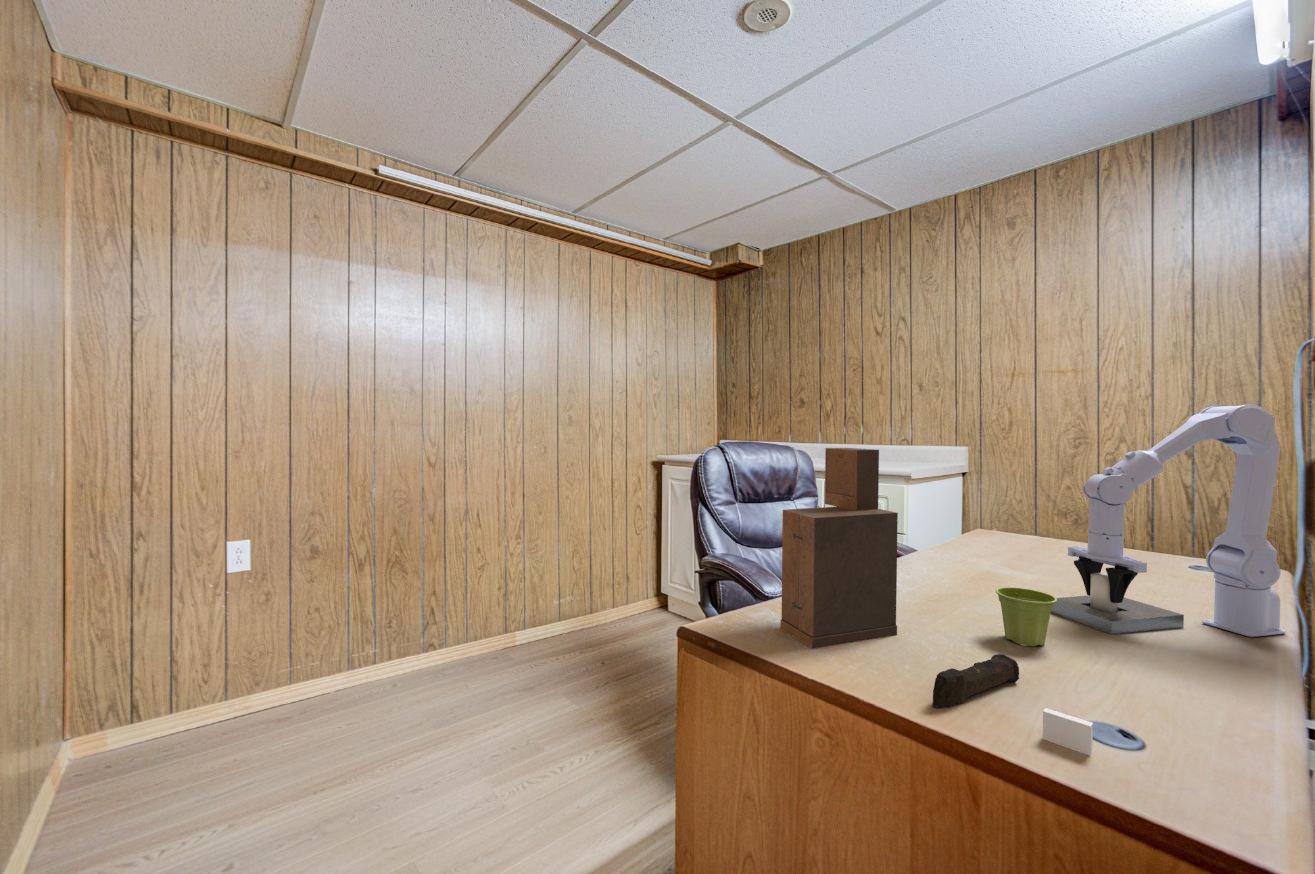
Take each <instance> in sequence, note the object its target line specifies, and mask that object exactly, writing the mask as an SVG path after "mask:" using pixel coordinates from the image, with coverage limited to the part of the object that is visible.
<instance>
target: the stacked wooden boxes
mask: <svg viewBox="0 0 1315 874" xmlns="http://www.w3.org/2000/svg"><path fill="white" fill-rule="evenodd" d="M824 449H825V451H824V452H825V455H824V456H825V457H824V459H825V460H824V461H825V463H824V464H825V465H824V469H825V472H824V474H825V475H824V504H825V505H827V506H826V507H810V508H809V507H808V508H807V507H806V508H792V509H788V508H787V509H782V525H781V526H782V532H781V533H782V537H781V538H782V541H781V544H782V545H781V551H782V553H781V619H780V622H779V623H780V630H782V631H783V632H785V633H786V634H788V635H790V636H791V637H793V638H795V639H797V640H798V641H800V642H801V643H803V644H804V645H806V646H807V647H808V648H811V649H819V648H820V649H821V648H824V647H825V648H826V647H830V646H831V647H833V646H837V645H843V644H849V643H850V644H851V643H855V642H862V641H869V640H875V639H880V638H881V639H882V638H887V637H893V636H894V637H895V636H898V625H897V585H898V583H897V581H898V576H897V575H898V571H897V570H898V523H899V522H898V519H899V518H898V515H899V513H898V512H896V511H891V510H886V509H881V508H879V489H880V488H879V483H880V482H879V480H880V479H879V477H880V475H879V474H880V472H879V471H880V470H879V469H880V468H879V467H880V466H879V465H880V449H874V448H857V447H854V448H853V447H825V448H824Z"/></svg>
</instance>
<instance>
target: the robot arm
mask: <svg viewBox="0 0 1315 874" xmlns="http://www.w3.org/2000/svg"><path fill="white" fill-rule="evenodd" d="M1275 423H1276V417H1274V415H1272V414H1271V413H1270V412H1269V411H1267V410H1266V409H1265V408H1263V407H1261V406H1259V405H1256V404H1243V405H1225V406H1220V405H1213V406H1208V407H1206V408H1204V409H1202V410H1201V411H1199V413H1195V414H1194V415H1191V416H1190V417H1189V419H1188V420H1187V421H1186V422H1185V423H1183V424H1182V425H1181V426H1179V427H1178V428H1176V430H1174V431H1173V432H1171V433H1170V434H1169V435H1167V436H1166V437H1165V438H1163V439H1162V440H1161V441H1159V442H1158V443H1157V444H1155V445H1154V446H1153V447H1151V448H1150V449H1148V450H1141V449H1139V450H1138V449H1137V450H1135V451H1128V452H1126V453H1125V454H1124V455H1123V456H1124V458H1123V459H1122V460H1120V461H1119V462H1117V463H1115V464H1114V465H1113V466H1111V467H1110V466H1107V467H1105V468H1104V469H1103V471H1104V473H1103V474H1102V473H1099V474H1094V475H1091V476H1089V478H1088V479H1087V480H1086V482H1085V484H1084V485H1082V488H1081V489H1082V493H1083V495H1085V497H1086V498H1087V500H1088V510H1087V511H1088V513H1087V514H1088V518H1087V523H1088V524H1087V548H1085V547H1078V546H1068V547H1067V556H1069V557H1076V558H1078V560H1076V559H1075V560H1073V564H1074V566H1075V568H1076V569H1077V571H1078V573H1079V575H1080V577H1081V579H1082V582H1083V586H1084V589H1085V593H1086V596H1088V595H1089V596H1090V587H1091V573H1102V570H1103V566H1104V565H1109V566H1112V567H1105V571H1106V574H1107V575H1108V578H1109V583H1110V600H1111V602H1112V603H1122V601H1123V598H1124V597H1125V595H1126V592H1127V590H1128V588H1129V586H1130V584H1131V582H1132V581H1133V580H1134V579H1135V578H1136V576H1138V574H1143V573H1147V571H1148V569H1147V568H1148V563H1147V562H1145V561H1142V560H1138V559H1136V558H1135V559H1134V558H1133V557H1129V556H1125V555H1124V545H1125V544H1124V542H1125V541H1124V539H1125V538H1124V537H1125V536H1124V534H1125V503H1126V502H1129V501H1130V500H1131V498H1132V497H1133V493H1134V491H1135V490H1137V489H1138V488H1140V487H1142V485H1144V484H1146V483H1147V482H1148V481H1150V480H1152V479H1154V478H1155V477H1156V476H1158V475H1160V474H1161V473H1162V472H1163V469H1164V463H1166V462H1168V461H1170V460H1171V459H1173V458H1175V457H1176V456H1178V455H1180V454H1182V453H1184V452H1185V451H1187V450H1188V449H1190V448H1193V446H1196V445H1197V444H1199V443H1201V442H1203V441H1208V440H1215V441H1218V442H1220V443H1223V444H1224V445H1226V446H1227V447H1228V448H1230V450H1232V451H1233V452H1234V453H1236V455H1237V458H1236V464H1235V470H1234V471H1235V472H1234V477H1233V481H1232V488H1231V495H1230V503H1229V506H1228V507H1229V508H1228V513H1227V520H1226V526H1225V531H1224V532H1223V533H1222V534H1220V535H1218V536H1217V537H1215V539H1214V543H1213V546H1212V547H1211V549H1210V550H1209V551H1208V552H1207V555H1206V557H1205V562H1206V563H1205V564H1206V566H1207V568H1208V569H1209V570H1210V572H1211V573H1213V579H1214V606H1213V607H1214V609H1213V610H1214V611H1213V612H1214V613H1213V619H1204V620H1201V623H1203V624H1204V625H1208V626H1211V627H1215V628H1218V629H1220V630H1221V629H1222V630H1225V631H1228V632H1232V633H1235V634H1239V635H1242V636H1246V637H1248V638H1249V637H1250V638H1254V637H1255V638H1256V637H1263V636H1272V635H1274V636H1275V635H1283V634H1286V633H1287V631H1286V630H1284V629H1281V627H1280V626H1281V598H1280V596H1279V594H1278V592H1277V591H1276V590H1275V589H1274V588H1272V586H1274V585H1275V584H1276V583H1277V582H1278V581H1279V579H1280V577H1281V567H1280V566H1279V563H1278V551H1277V549H1276V548H1275V547H1274V546H1273V545H1272V544H1271V542H1270V541H1269V540H1268V539H1267V536H1268V534H1267V533H1268V528H1269V522H1270V517H1271V510H1272V504H1273V497H1274V491H1275V487H1276V486H1275V484H1276V479H1277V474H1278V473H1277V472H1278V467H1279V460H1280V454H1281V445H1280V442H1279V440H1278V437H1277V434H1276V433H1275Z"/></svg>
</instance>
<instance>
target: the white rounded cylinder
mask: <svg viewBox="0 0 1315 874" xmlns="http://www.w3.org/2000/svg"><path fill="white" fill-rule="evenodd" d="M1090 607H1091V608H1094V609H1097V610H1100V611H1104V612H1107V613H1108V612H1118V603H1112V602H1111V600H1110V583H1109V578H1108V575H1107V573H1102V572H1101V573H1091V587H1090Z"/></svg>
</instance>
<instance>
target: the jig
mask: <svg viewBox="0 0 1315 874" xmlns="http://www.w3.org/2000/svg"><path fill="white" fill-rule="evenodd" d="M1056 598H1057V602H1056V603H1054V606H1053V609H1052V610H1051V613H1050V614H1054V615H1056V616H1060V617H1062V618H1065V619H1068V620H1070V621H1073V622H1076V623H1079V624H1082V625H1085V626H1087V627H1090V628H1093V629H1096V630H1099V631H1101V632H1104V633H1107V634H1109V635H1118V634H1119V635H1120V634H1129V633H1130V634H1132V633H1139V632H1148V631H1149V632H1150V631H1158V630H1159V631H1161V630H1169V629H1170V630H1171V629H1179V628H1184V625H1185V624H1184V623H1185V622H1184V621H1185V619H1184V618H1185V615H1184V614H1182V613H1179V612H1175V611H1171V610H1168V609H1165V608H1162V607H1157V606H1155V605H1151V604H1148V603H1145V602H1141V601H1138V600H1134V599H1131V598H1128V597H1125V596H1124V598H1123V601H1122V603H1118V612H1108V613H1107V612H1104V611H1100V610H1097V609H1094V608H1091V607H1090V596H1089V595H1080V596H1079V595H1077V596H1063V597H1056Z"/></svg>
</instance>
